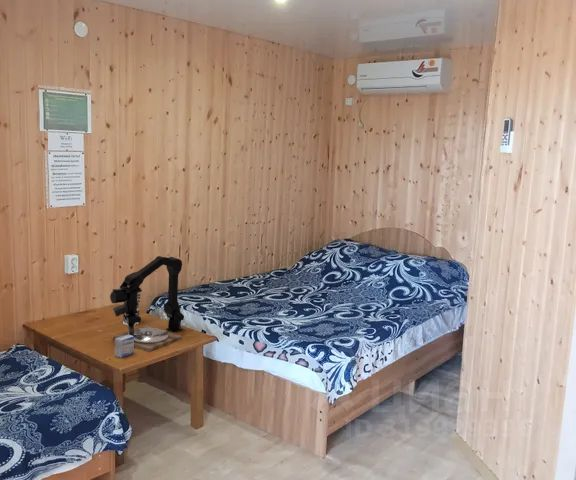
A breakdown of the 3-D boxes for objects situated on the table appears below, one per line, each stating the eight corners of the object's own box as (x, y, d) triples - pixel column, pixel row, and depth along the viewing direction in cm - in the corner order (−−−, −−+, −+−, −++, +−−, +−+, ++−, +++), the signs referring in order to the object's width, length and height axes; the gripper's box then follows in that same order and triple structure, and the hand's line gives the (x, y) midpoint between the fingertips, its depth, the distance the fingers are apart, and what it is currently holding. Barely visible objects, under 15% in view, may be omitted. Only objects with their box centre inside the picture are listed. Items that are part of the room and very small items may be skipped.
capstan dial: (161, 328, 303) (162, 317, 302) (173, 341, 286) (174, 329, 285) (123, 331, 293) (123, 320, 292) (133, 345, 276) (133, 333, 275)
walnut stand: (147, 327, 306) (147, 323, 305) (181, 338, 294) (182, 334, 294) (113, 339, 285) (113, 334, 285) (148, 351, 274) (149, 346, 273)
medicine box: (120, 358, 263) (121, 340, 262) (114, 355, 266) (114, 338, 264) (133, 353, 270) (134, 336, 269) (127, 351, 272) (127, 333, 271)
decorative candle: (143, 322, 313) (145, 278, 309) (130, 326, 305) (132, 281, 301) (131, 318, 318) (133, 275, 313) (118, 322, 310) (120, 278, 306)
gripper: (111, 295, 289) (109, 324, 291) (118, 307, 272) (117, 338, 275) (133, 294, 294) (132, 323, 297) (142, 305, 278) (140, 336, 281)
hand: (129, 330), depth 287 cm, fingers closed
